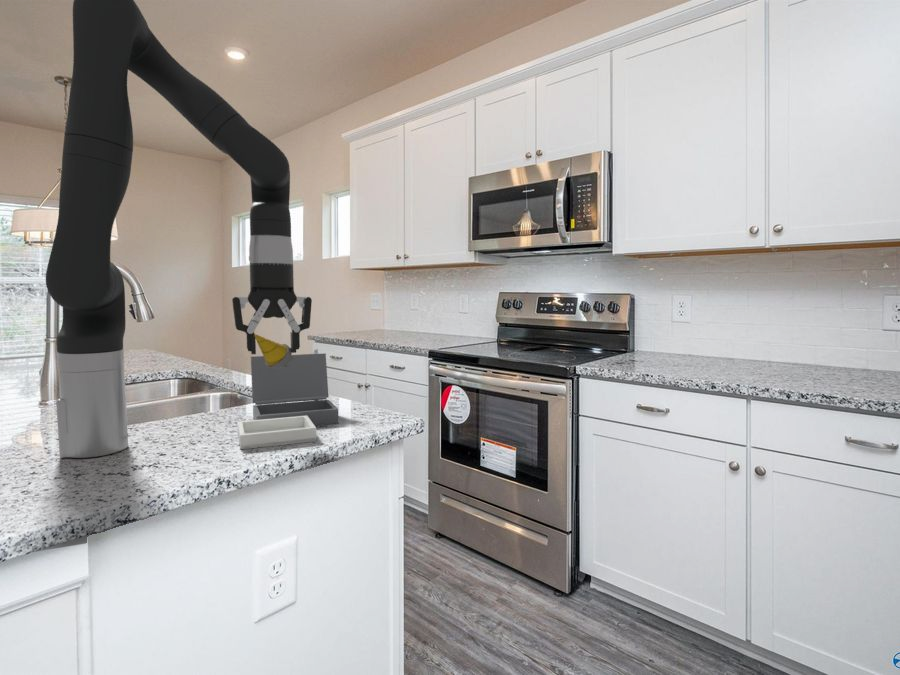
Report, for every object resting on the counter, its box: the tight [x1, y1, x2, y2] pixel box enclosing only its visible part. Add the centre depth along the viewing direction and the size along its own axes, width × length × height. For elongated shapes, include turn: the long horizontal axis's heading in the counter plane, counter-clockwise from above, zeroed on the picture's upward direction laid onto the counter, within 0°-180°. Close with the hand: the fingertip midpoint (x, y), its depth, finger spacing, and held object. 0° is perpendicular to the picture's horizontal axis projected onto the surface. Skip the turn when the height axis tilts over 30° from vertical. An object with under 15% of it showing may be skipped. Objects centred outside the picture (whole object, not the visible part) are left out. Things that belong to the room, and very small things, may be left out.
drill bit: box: [254, 333, 294, 370], centre depth 96 cm, size 5×5×10 cm
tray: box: [237, 415, 317, 450], centre depth 98 cm, size 13×10×2 cm
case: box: [252, 399, 339, 427], centre depth 110 cm, size 16×10×3 cm, turn 114°
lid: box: [250, 352, 329, 405], centre depth 115 cm, size 16×10×1 cm
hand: (273, 352), depth 96 cm, fingers closed on drill bit, 6 cm apart
